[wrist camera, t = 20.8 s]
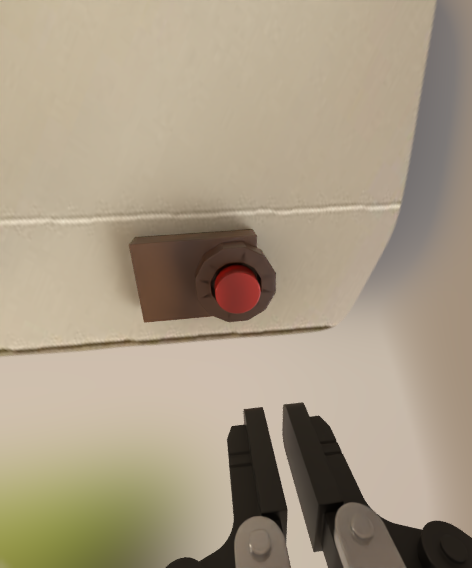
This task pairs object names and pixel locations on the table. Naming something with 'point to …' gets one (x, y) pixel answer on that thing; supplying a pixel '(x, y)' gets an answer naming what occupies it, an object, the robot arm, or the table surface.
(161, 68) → the table surface
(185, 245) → the button block
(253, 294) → the button
